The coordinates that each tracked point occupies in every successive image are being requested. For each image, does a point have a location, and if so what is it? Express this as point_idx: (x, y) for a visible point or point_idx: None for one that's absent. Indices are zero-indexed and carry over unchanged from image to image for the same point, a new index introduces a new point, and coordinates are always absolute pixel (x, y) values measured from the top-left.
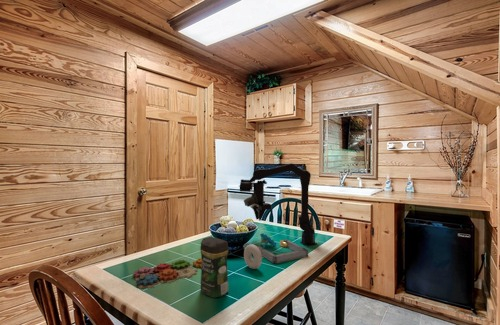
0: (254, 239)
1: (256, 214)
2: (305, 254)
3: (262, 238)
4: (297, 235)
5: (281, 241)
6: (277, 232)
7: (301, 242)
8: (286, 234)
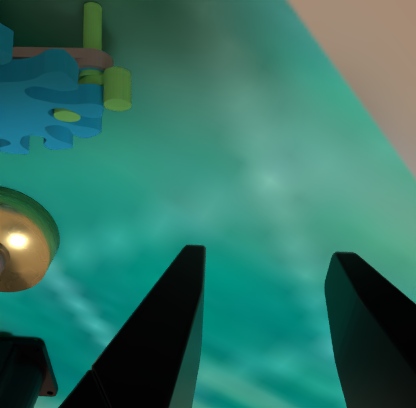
0: (334, 82)
1: (392, 377)
2: None
3: (104, 87)
4: (201, 402)
5: (12, 231)
6: None
7: (23, 343)
8: (266, 371)
